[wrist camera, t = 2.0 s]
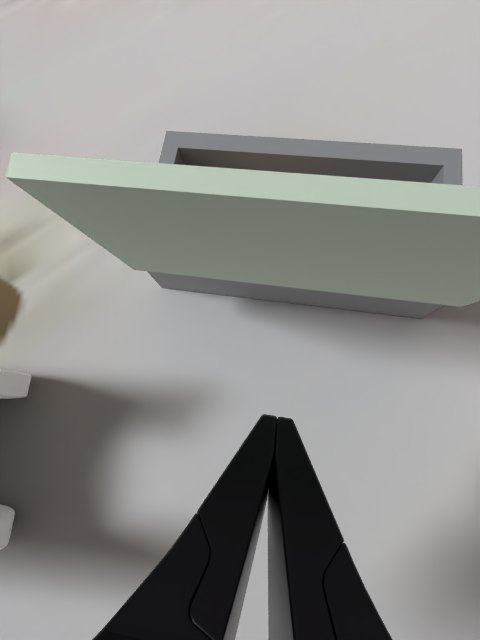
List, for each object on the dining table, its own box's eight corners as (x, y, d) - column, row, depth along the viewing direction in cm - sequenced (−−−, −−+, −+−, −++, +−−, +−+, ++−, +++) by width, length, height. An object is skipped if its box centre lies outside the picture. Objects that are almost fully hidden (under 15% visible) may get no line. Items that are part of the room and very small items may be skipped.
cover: (462, 291, 17) (462, 307, 17) (136, 256, 19) (134, 269, 19) (683, 201, 8) (683, 233, 8) (12, 152, 10) (5, 177, 10)
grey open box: (420, 318, 22) (463, 294, 17) (161, 287, 24) (135, 258, 19) (423, 200, 24) (462, 149, 19) (185, 181, 26) (166, 131, 21)
